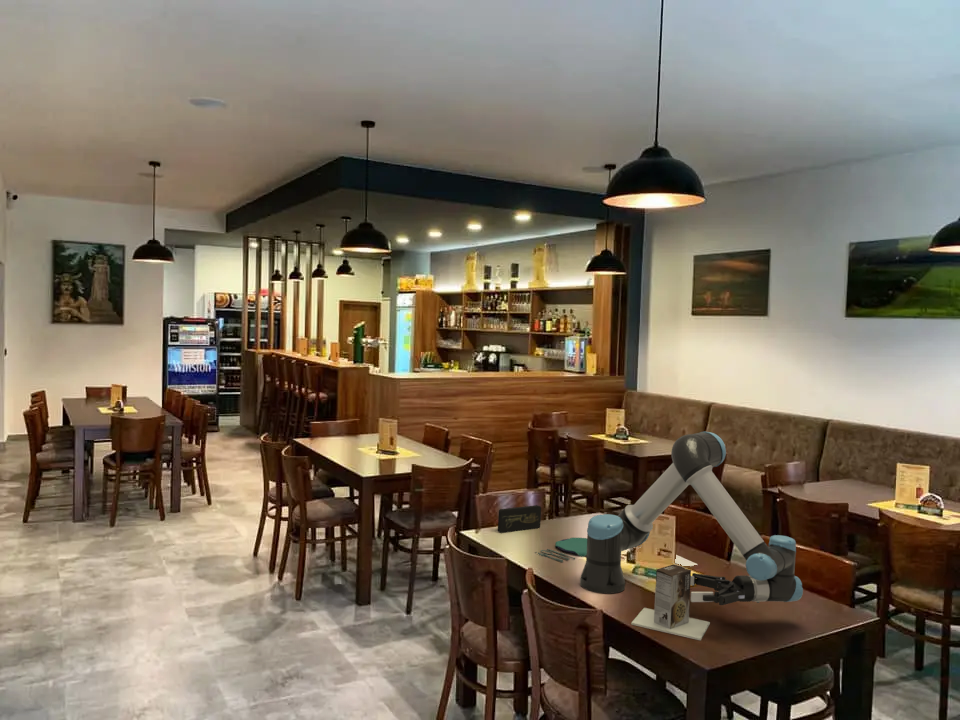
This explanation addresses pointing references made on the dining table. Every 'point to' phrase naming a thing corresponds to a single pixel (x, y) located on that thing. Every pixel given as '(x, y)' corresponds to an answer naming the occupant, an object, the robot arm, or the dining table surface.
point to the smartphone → (683, 561)
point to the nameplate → (519, 519)
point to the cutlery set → (568, 548)
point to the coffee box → (672, 596)
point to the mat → (689, 630)
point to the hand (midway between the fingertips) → (681, 588)
